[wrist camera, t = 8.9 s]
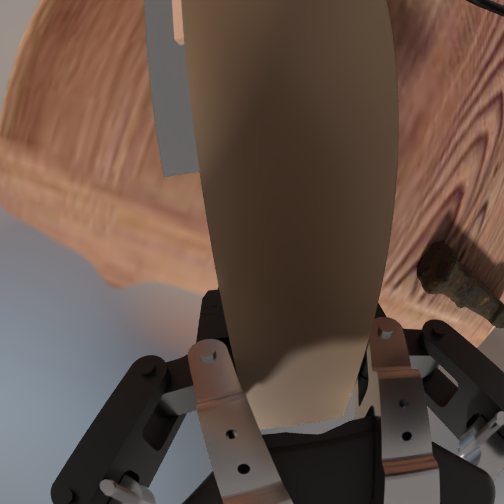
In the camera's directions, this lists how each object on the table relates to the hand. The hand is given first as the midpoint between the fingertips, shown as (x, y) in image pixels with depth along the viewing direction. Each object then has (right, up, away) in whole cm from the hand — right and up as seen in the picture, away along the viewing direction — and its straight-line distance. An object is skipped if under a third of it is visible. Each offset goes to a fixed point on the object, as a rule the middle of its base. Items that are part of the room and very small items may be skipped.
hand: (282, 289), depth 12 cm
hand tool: (+22, -1, +11) cm, 24 cm away
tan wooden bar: (0, +5, -2) cm, 5 cm away
